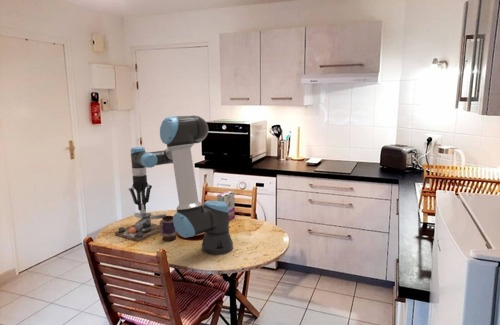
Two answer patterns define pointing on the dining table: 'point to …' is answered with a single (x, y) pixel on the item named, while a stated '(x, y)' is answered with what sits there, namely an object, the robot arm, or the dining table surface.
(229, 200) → the candy bar box
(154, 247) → the dining table surface
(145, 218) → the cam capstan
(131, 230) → the ball
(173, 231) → the mug
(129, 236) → the walnut stand
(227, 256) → the dining table surface
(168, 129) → the robot arm
